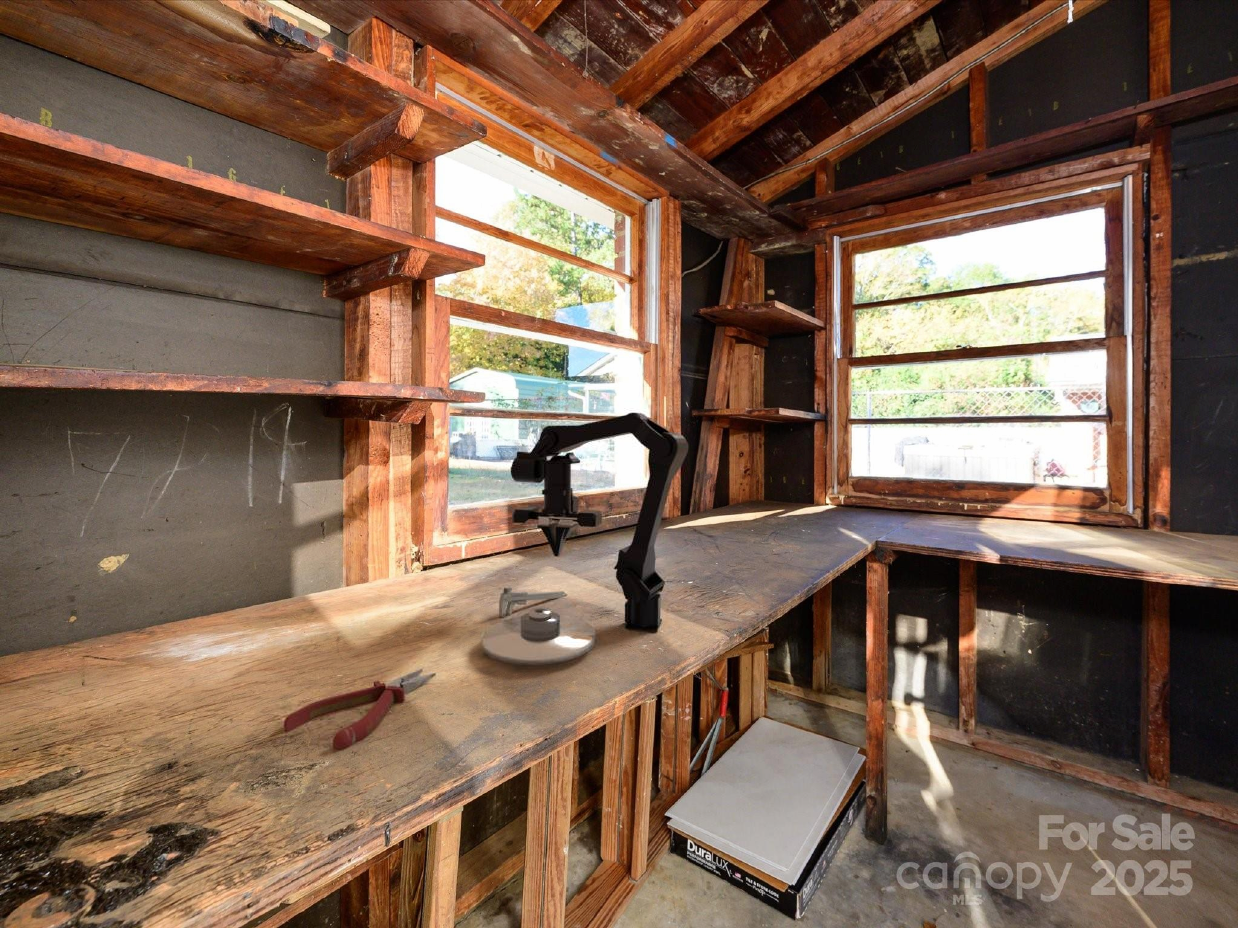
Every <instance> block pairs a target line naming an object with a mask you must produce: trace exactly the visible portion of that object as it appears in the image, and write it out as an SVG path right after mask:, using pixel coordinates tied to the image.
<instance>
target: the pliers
mask: <svg viewBox="0 0 1238 928" xmlns="http://www.w3.org/2000/svg"><path fill="white" fill-rule="evenodd" d="M422 672H423V668H421V669H418V670H415V671H412V672H410V673H408V674H405V675H403V676H400V677H398V678H395V679H393V680H392V681H391V682H389V683H388V684H386V683H385V682H383V683H381V682H380V680H376V681H373V686H371V687H366V688H363V689H359V690H355V691H351V692H347V693H342V694H339V695H335V696H330V697H327V698H324V699H320V700H317V701H314V702H312V703H309V704H307V705H305V706H303V707H302V708H300V709H298V710H295V711H294V712H291V713H290V714H289V715H287V717H286V718H285V719H284V722H283V729H284V731H286V733H289V732H291V731H293V730H295V729H297V728H299V727H301V726H302V725H304V724H307V723H308V722H310V721H313V720H314V719H317V718H321V717H323V716H326V715H329V714H333V713H336V712H340V711H345V710H349V709H351V708H355V707H359V706H363V705H367V704H371V703H374V704H373V706H372V707H371V709H370V710H369V711H368V712H367V713H366V714H365V715H364V716H363V717H362V718H361V719H359V720H358V721H356V722H353V723H352V724H350V725H347V726H345V727H344V728H342V729H340V730H339V731H338V732H336V734H334V736H333V738H332V748H333V750H334V751H342V750H345V749H347V748H350V747H351V746H353V745H354V744H356V743H358V742H360V741H362V740H363V739H365V738H367V737H369V736H370V735H371V734H372V733H373V732H374V731H376V729H377V728H378V727H379V725H380V724H381V722H382V721H383V720H384V718H385V717H386V715H387V714H388V712H389V711H390V709H391V708H392V706H393V705H394V704H403V703H404V702H405V701H406V699H405V695H406V694H408V693H411V692H412V691H414V690H415V689H417V688H420V686H422V685H423V684H425V683H427V682H428V681H429V680H431V679H432V678H434V677H436V676H437V675H436V672H433V673H428V674H423V675H420V674H421V673H422Z"/></svg>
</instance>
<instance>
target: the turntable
mask: <svg viewBox="0 0 1238 928" xmlns="http://www.w3.org/2000/svg"><path fill="white" fill-rule="evenodd" d="M559 615H560V635H559V636H558V637H557V638H554V639H552V640H547V641H529V640H526V639H523V638H522V637H521V616H516V617H512V618H508V619H505V620H501V621H499V622H497V623H495V624H493V625H491V626H490V627H488V628H487V629H486V630H485V631H484V632H483V634H482V635H481V636H482V637H481V640H482V641H481V644H482V645H481V647H482V650H483V652H484V653H485V654H486V655H487V656H489V657H490V658H492V659H494V660H497V661H501V662H503V663H508V664H514V665H524V666H525V665H527V666H537V665H550V664H557V663H558V664H559V663H562V662H566V661H570V660H573V659H576V658H578V657H580V656H582V655H585V654H586V653H588V652H589V651H591V650H592V648H593V647H594V646H595V643H596V630H595V628H594V627H593V625H591V624H590V623H589V622H587V621H585V620H583V619H580V618H577V617H573V616H568V615H561V614H559Z"/></svg>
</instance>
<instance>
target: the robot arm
mask: <svg viewBox="0 0 1238 928" xmlns="http://www.w3.org/2000/svg"><path fill="white" fill-rule="evenodd" d="M630 434H631V435H632V436H633V437H634V438H635V439H636V440H637V441H638V442H639V443H640V444H641V445H642V446H644V447H645V448H646V449H648V458H647V459H648V460H647V463H648V471H649V478H648V481H647V484H646V489H645V492H644V496H643V499H642V502H641V503H642V504H641V508H640V510H639V511H640V512H639V514H638V518H637V522H636V525H635V529H634V530H635V531H634V534H633V537H632V541H631V544H630V545H628V546H625V547H623V548H621V549H620V550H618V554H617V562H616V565H614V568H613V569H614V570H616V572H615V579H616V581H617V582H618V584H619V585H620V587H621V590H622V593H623V595H624V598H625V600H626V601H625V603H624V623H625V625H624V629H625V630H634V631H642V632H643V631H644V632H653V633H655V632H656V633H657V632H658V631H659V630H660V627H661V624H663V623H662V622H663V619H662V618H661V611H662V610H661V603H662V600H661V599H662V594H661V592H663V590H664V587H665V585H666V582H665V580H664V579H663V578H662V576H660V574H659V573H658V572H657V571H656V569H655V567H656V559H657V558H656V551H655V544H656V540H657V535H658V533H659V529H660V526H661V522H662V518H663V514H664V511H665V508H666V503H667V500H668V496H669V493H670V489H671V485H672V482H673V479H674V478H675V476H676V474H678V471H679V470H680V468H681V467H682V465H683V463H684V461H685V459H686V456H687V455H688V452H689V442H687V439H686V438H685V437H684V436H683V435H682V434H681V433H677V432H671V431H670V430H668V429H667V428H665V427H663V426H662V425H660V424H659V423H656V422H655V421H653V420H652V419H650V418H649V417H648V416H646V415H645V414H644V413H642V412H629V413H626V414H624V415H621V416H615V417H611V418H607V419H606V418H605V419H601V420H597V421H592V422H589V423H588V422H587V423H583V424H577V425H576V424H575V425H573V424H572V425H570V424H569V425H567V424H566V425H564V424H563V425H547V426H545V427H543V428H542V431H541V432H540V435H539V436H540V437H539V438H538V440H537V442H536V443H535V445H534V447H533V448H532V449H531V451H530V452H529V451H516V457H515V458H514V459H513V461H512V464H511V466H510V476H511V478H512V480H513V481H514V482H516V483H517V482H518V483H531V484H540V483H542V482H543V489H541V495H543V508H542V509H541V510H540V509H539V508H538V506H537V507H536V506H535V507H534V506H522V507H519V508H516V509H514V510H513V512H512V515H511V522H512V523H513V524H526V523H527V522H528V521H529V520H533V521H534V520H536V521H538V524H537V526H536V527H537V528H536V529H541V532H543V535H544V536H545V538H546V540H547V542H548V544H549V546H550V549H551V552H552V554H553V555H554V557H560V556H561V552H562V550H563V548H564V544H565V541H566V539H567V536H568V534H569V532H570V531H571V529H574V528H575V527H577V525H578V526H580V527H584V528H594V527H595V528H596V527H597V526H599V525H601V524H602V523H603V513H602V512H601V511H600V510H599V509H598V510H597V509H583V510H581V511H579V503H580V499H579V498H578V497H576V496H575V495H574V493H573V488H572V465H574V464H580V463H581V460H580V459H579V458H578V457H577V456H576V455H575V454H574V452H573V450H575V449H578V448H580V447H582V446H584V445H585V444H587V443H588V444H589V443H591V442H595V441H601V440H607V439H609V438H615V437H619V436H625V435H630ZM562 453H565V455H561V454H562ZM548 457H551V458H549V459H547V458H548Z"/></svg>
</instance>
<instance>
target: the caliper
mask: <svg viewBox="0 0 1238 928" xmlns="http://www.w3.org/2000/svg"><path fill="white" fill-rule="evenodd" d="M512 590H513V589H512V587H504V588H503V592H501V593H500V596H499V597H500V598H499V602H498V616H499V617H501V618H505V616H507V617H509V616H511V615H512V612H513V610H514V607H515V605H516V604H517V605H520V606H521V605H524V606H525V605H526V604H527V602H528V601H529V602H530V601H537V600H538V601H541V600H552V599H553V600H554V599H561V598H564V597H566V596H565V595H567V596H568V593H566V592H565V591H563V590H557V591H541V592H527V591H512ZM560 597H561V598H560Z"/></svg>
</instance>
